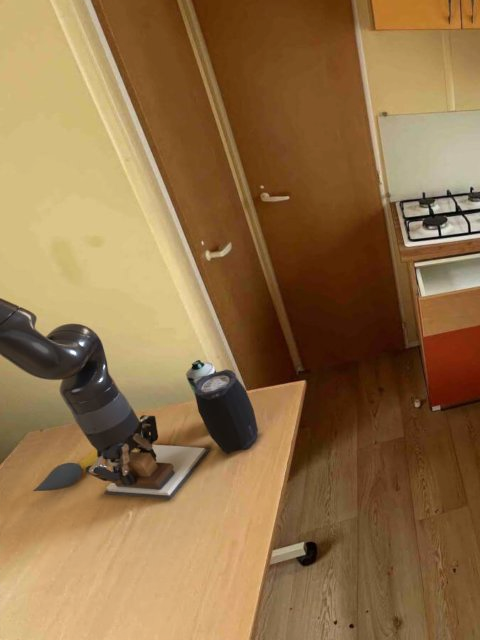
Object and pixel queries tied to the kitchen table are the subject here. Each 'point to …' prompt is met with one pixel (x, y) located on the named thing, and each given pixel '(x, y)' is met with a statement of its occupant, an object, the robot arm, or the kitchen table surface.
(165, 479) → the two-tone stacked block
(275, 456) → the kitchen table surface
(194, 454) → the tile
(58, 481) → the paintbrush
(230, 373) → the portable speaker
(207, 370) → the spray can
